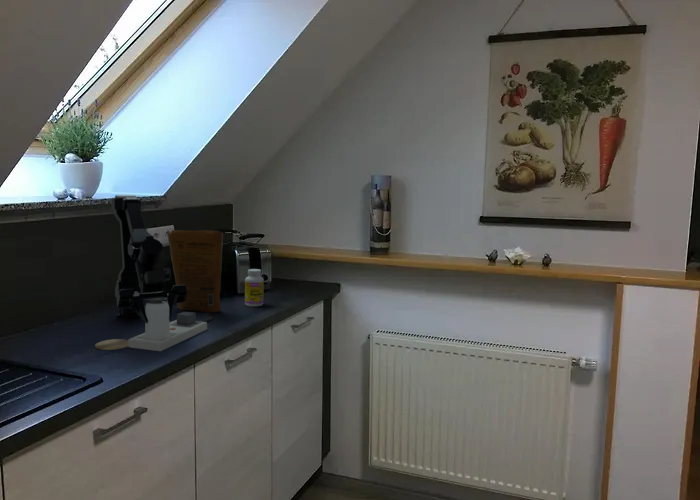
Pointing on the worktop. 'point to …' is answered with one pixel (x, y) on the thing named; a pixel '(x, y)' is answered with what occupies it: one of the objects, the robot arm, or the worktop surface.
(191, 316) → the block
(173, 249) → the pancake mix bag
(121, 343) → the cork coaster
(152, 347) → the strip dock
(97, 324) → the worktop surface
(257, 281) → the supplement bottle
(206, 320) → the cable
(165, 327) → the can
